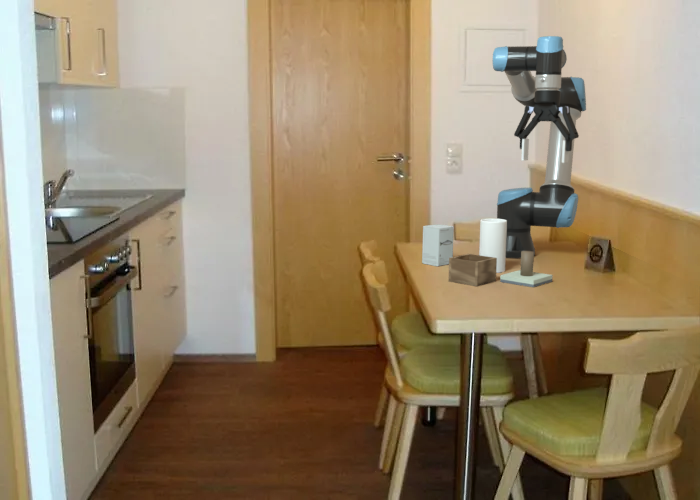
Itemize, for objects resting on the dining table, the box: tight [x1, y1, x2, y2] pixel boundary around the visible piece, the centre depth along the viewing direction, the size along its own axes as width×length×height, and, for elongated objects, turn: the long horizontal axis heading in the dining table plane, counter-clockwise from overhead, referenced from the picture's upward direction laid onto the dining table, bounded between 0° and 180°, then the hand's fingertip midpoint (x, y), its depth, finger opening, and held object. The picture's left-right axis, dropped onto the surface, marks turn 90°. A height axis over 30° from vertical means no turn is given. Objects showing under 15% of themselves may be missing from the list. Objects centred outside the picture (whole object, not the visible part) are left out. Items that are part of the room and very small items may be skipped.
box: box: [448, 253, 497, 287], centre depth 245 cm, size 10×10×7 cm
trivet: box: [499, 278, 553, 288], centre depth 245 cm, size 11×11×1 cm
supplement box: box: [421, 224, 455, 267], centre depth 272 cm, size 7×7×13 cm
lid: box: [500, 251, 553, 285], centre depth 244 cm, size 11×11×8 cm
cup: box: [478, 218, 507, 274], centre depth 261 cm, size 8×8×16 cm
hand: (544, 161), depth 251 cm, fingers open, 13 cm apart
